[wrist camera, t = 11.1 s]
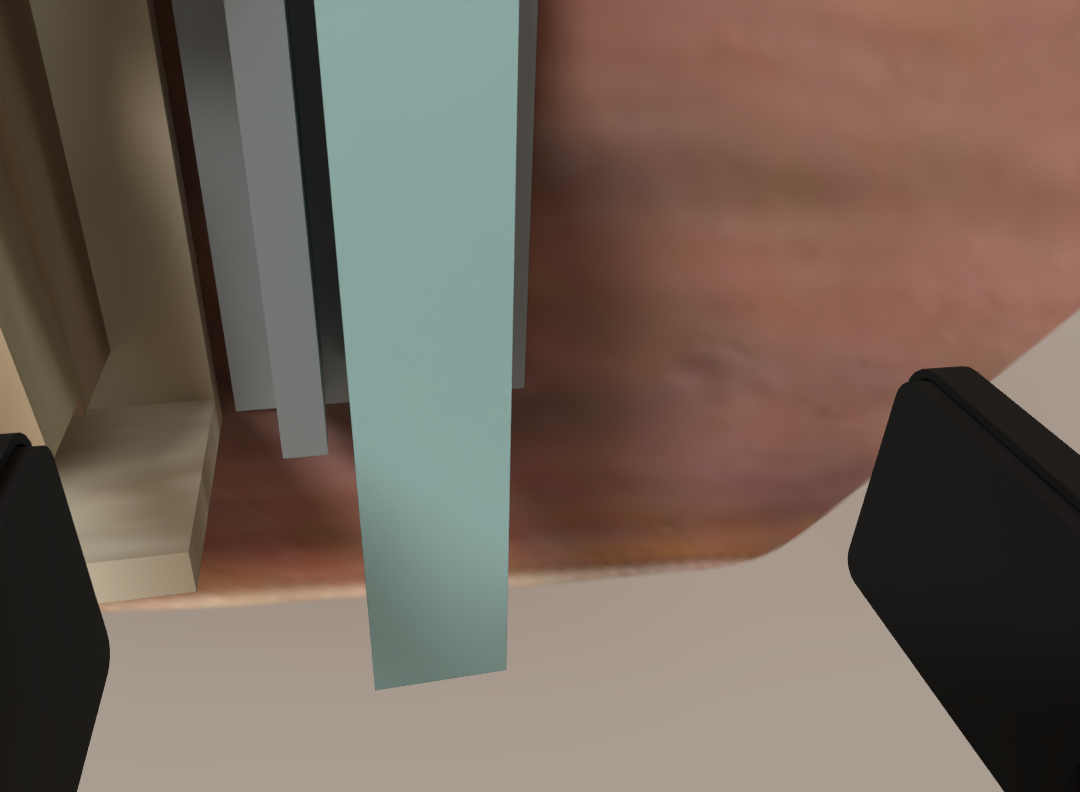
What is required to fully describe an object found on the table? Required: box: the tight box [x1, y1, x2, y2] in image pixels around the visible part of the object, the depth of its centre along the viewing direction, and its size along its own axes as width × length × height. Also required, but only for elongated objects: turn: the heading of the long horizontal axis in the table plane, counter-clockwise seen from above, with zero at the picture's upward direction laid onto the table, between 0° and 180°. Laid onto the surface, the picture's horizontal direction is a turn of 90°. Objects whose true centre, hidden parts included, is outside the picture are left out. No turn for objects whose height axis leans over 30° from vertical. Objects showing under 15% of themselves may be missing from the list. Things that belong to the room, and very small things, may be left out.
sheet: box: [314, 0, 519, 690], centre depth 18 cm, size 2×12×13 cm, turn 179°
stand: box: [172, 0, 538, 459], centre depth 23 cm, size 9×15×4 cm, turn 178°
